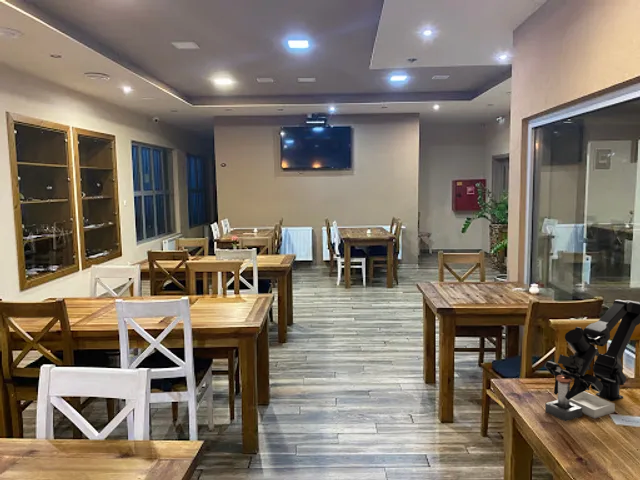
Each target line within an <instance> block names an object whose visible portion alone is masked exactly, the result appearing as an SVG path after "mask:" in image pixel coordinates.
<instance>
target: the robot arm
mask: <svg viewBox="0 0 640 480" xmlns="http://www.w3.org/2000/svg"><path fill="white" fill-rule="evenodd" d="M618 323H619V325H618V326H617V324H618ZM638 325H640V301H635V300H629V299H626V300H624V299H615V300H613V303H612V305H611V307H609V308H608V309H607V311H605V313H604V314H603V315H602V316H601V317H600V319H599V320H597V321H596V322H592V323H590V324H588V325H587V326H586V327H585V328H582V327H579V326H576V327H575V328H574V329H570V330H569V331H567V332H565V335H564V340H565V341H566V343H567V344H568V345H569V346H570V348H571V349H572V350H573V351H574V354H573V355H572V354H570V355H569V356H566V355H564V354H559V357H558V359H557V362H553V361H551V360H549V361H546V362H545V364H544V368H545V369H546V370H547V371H548V372H549V374H551V375H553V376H554V381H555V382H554V389H553V394H554V395H558V381H557V380H556V377H557V376H558V375H566V376H569V377H571V378H572V379H573V384H572V386H571V387H570V391H569V393H568V395H567V397H566V398H567V399H568V400H569V399H571V398H572V397H574V396H576V395H577V394H579V393H581V392H583V391H585V392H587V391H590V390H593V391H595V392H596V393H595V396H597V397H600V398H602V399H605V400H607V401H609V402H614V401H618V400H620V399H624V396H623V395H621V394H620V386H624V385H625V384H626V381H627V376H626V375H625V374H624V372H623V363H622V357H623V355H624V353H625V350H626V348H627V347H628V344H629V342H630V340H631V338H632V335H633V334H634V331H635V329H636V327H637V326H638ZM615 326H617V329H616V330H615V333H614V335H613V337H612V340H611V341H610V343H609V345H608V348H607V351H606V352H605V353H600V352H599V348H598V347H604V346H605V345H606V344H607V343H608V342H609V340H610V339H611V335H610V334H611V332H612V330H613V329H614V327H615ZM595 346H597V347H595ZM595 357H596V359H595ZM594 359H595V361H594ZM592 362H594V363H593V365H592V367H591V364H592ZM560 364H561V365H562V367H563V368H562V367H561V366H560ZM591 369H592V370H593V371H592V372H593V374H594V375H592V374H589V373H587V371H590V370H591ZM590 388H591V389H590Z"/></svg>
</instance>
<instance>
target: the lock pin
mask: <svg viewBox="0 0 640 480" xmlns="http://www.w3.org/2000/svg"><path fill="white" fill-rule="evenodd" d="M572 379H573V378H571V377H569V376H566V375H558V376H557V377H556V380H557V381H558V393H557V400H558V407H560V408H562V409H564V410H566V409H569V408H570V399H569V400H568V399H567V398H566V397H567V395H568V393H569V391H570V389H571V383H572V381H573V380H572Z"/></svg>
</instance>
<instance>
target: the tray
mask: <svg viewBox="0 0 640 480" xmlns="http://www.w3.org/2000/svg"><path fill="white" fill-rule="evenodd" d="M570 402H571V403H573V404H575V405H577V406H580V407H582V415H583V414H584V415H586V416H587V417H590V418H592V419H594V420H595V419H597V418H600V417H604V416H607V415H610V414H613V413H615V411H616V409H615V408H616V407H615V406H616V405H615V404H616V403H614V402H613V401H610V400H607V399H605V398H602V397H600V396H598V395H596V394H592V393H589V392H588V391H583V392H581V393H579V394H577V395H576V396H574V397H572V398H571V399H570Z"/></svg>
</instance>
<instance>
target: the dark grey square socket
mask: <svg viewBox="0 0 640 480" xmlns="http://www.w3.org/2000/svg"><path fill="white" fill-rule="evenodd" d="M544 407H545V410H544V411H545V413H547V414H549V415H551V416H553V417H555V418H558V419H559V420H561V421H563V422H567V421H571V420H574V419H578V418H580V417H583V413H582V407H580V406H577V405H575V404H573V403H571V402H570V408H569V409H566V410H564V409H562V408H560V407H558V399H556V400H553V401H549V402H546V403H545V406H544Z"/></svg>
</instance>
